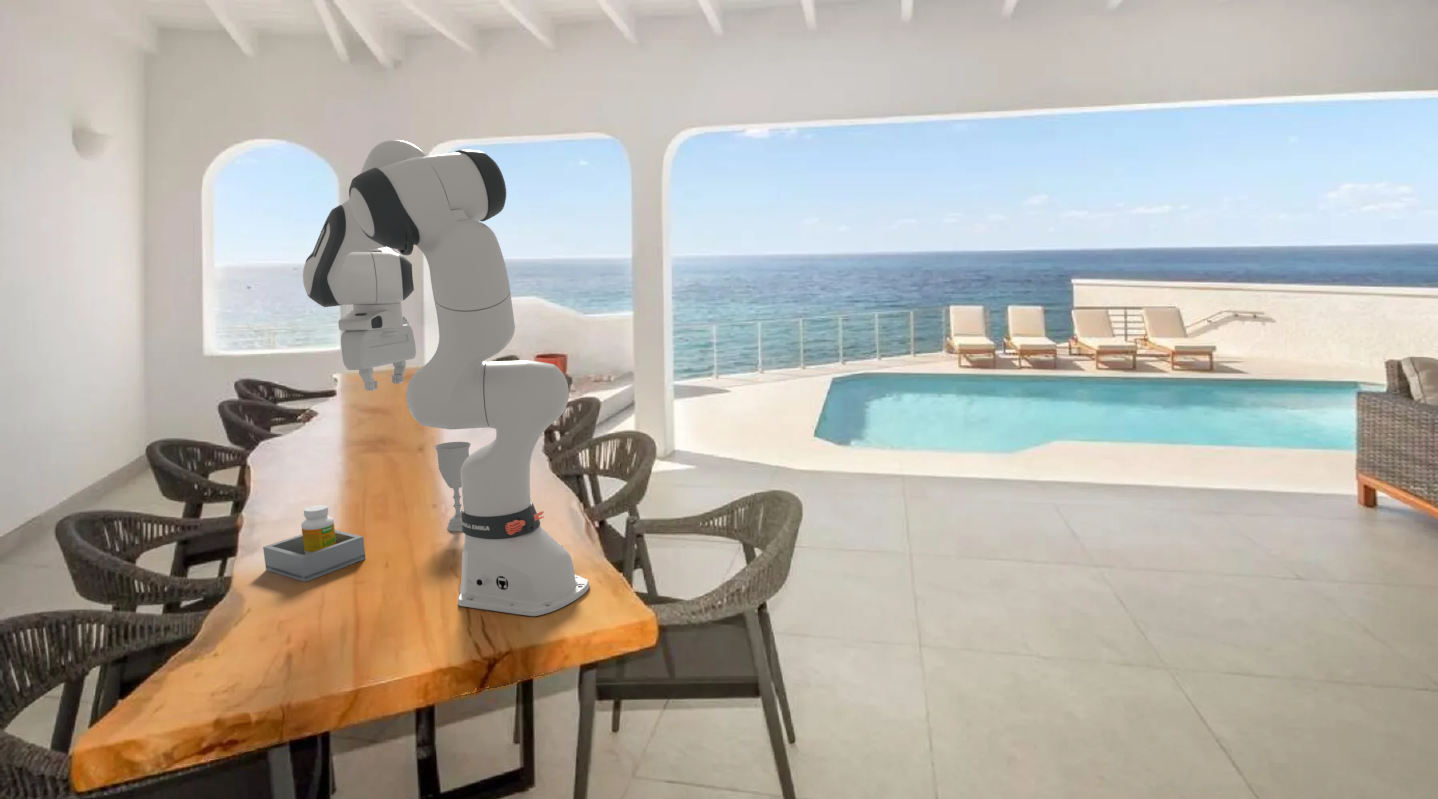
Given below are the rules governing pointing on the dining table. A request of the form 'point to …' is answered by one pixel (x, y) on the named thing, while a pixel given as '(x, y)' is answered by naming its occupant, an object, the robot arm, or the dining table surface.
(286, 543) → the tray
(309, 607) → the dining table surface
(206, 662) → the dining table surface
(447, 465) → the chalice
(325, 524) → the supplement bottle
